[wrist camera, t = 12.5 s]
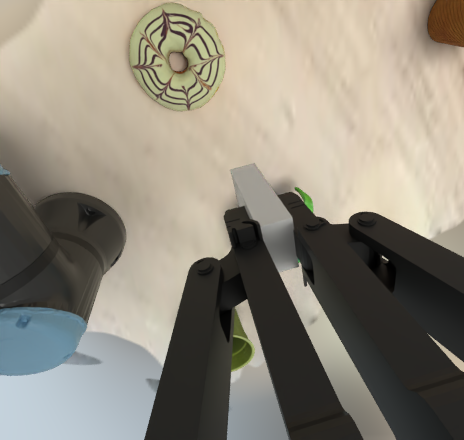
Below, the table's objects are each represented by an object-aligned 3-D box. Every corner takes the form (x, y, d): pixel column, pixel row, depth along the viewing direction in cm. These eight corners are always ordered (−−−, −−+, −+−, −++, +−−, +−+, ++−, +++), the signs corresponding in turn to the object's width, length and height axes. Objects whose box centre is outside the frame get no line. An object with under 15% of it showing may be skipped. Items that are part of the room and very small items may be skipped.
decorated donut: (161, -17, 34) (159, -25, 31) (239, 51, 39) (244, 51, 35) (117, 70, 38) (111, 72, 34) (193, 122, 43) (194, 129, 39)
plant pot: (181, 301, 61) (181, 348, 51) (234, 282, 60) (244, 327, 51) (202, 333, 67) (205, 381, 57) (250, 316, 66) (261, 362, 57)
